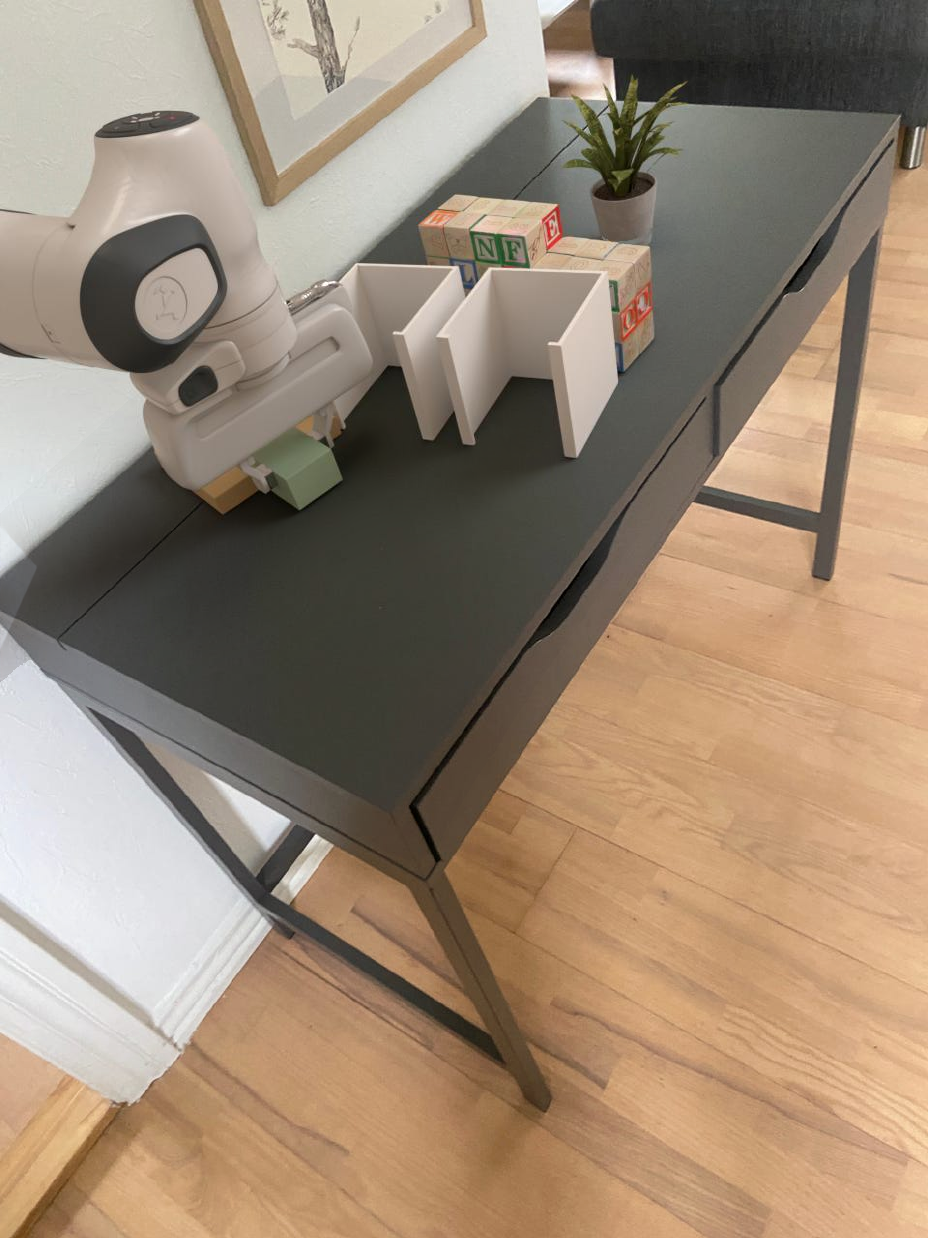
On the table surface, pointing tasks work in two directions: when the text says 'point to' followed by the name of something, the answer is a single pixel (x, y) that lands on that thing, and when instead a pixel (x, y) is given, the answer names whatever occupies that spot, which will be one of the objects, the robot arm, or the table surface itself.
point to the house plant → (623, 165)
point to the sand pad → (243, 478)
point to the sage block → (299, 467)
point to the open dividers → (486, 341)
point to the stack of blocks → (542, 257)
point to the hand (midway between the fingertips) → (296, 467)
